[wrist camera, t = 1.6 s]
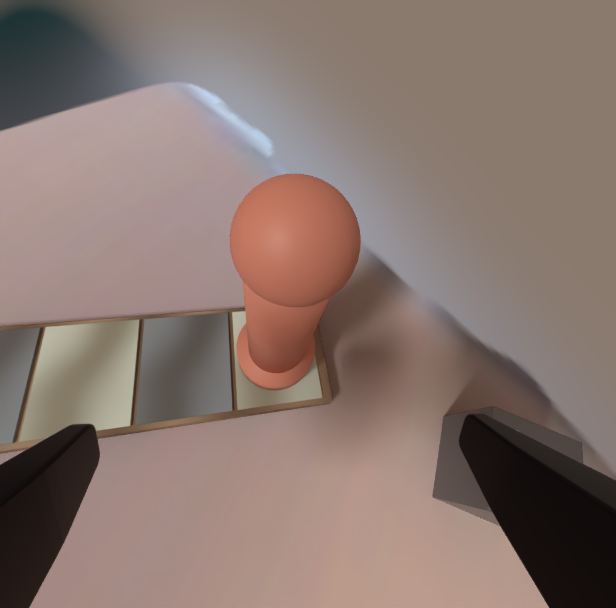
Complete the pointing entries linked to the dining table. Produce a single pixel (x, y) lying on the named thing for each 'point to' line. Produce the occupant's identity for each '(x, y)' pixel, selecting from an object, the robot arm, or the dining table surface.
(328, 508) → the dining table surface
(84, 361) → the board
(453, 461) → the die
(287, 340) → the pawn
